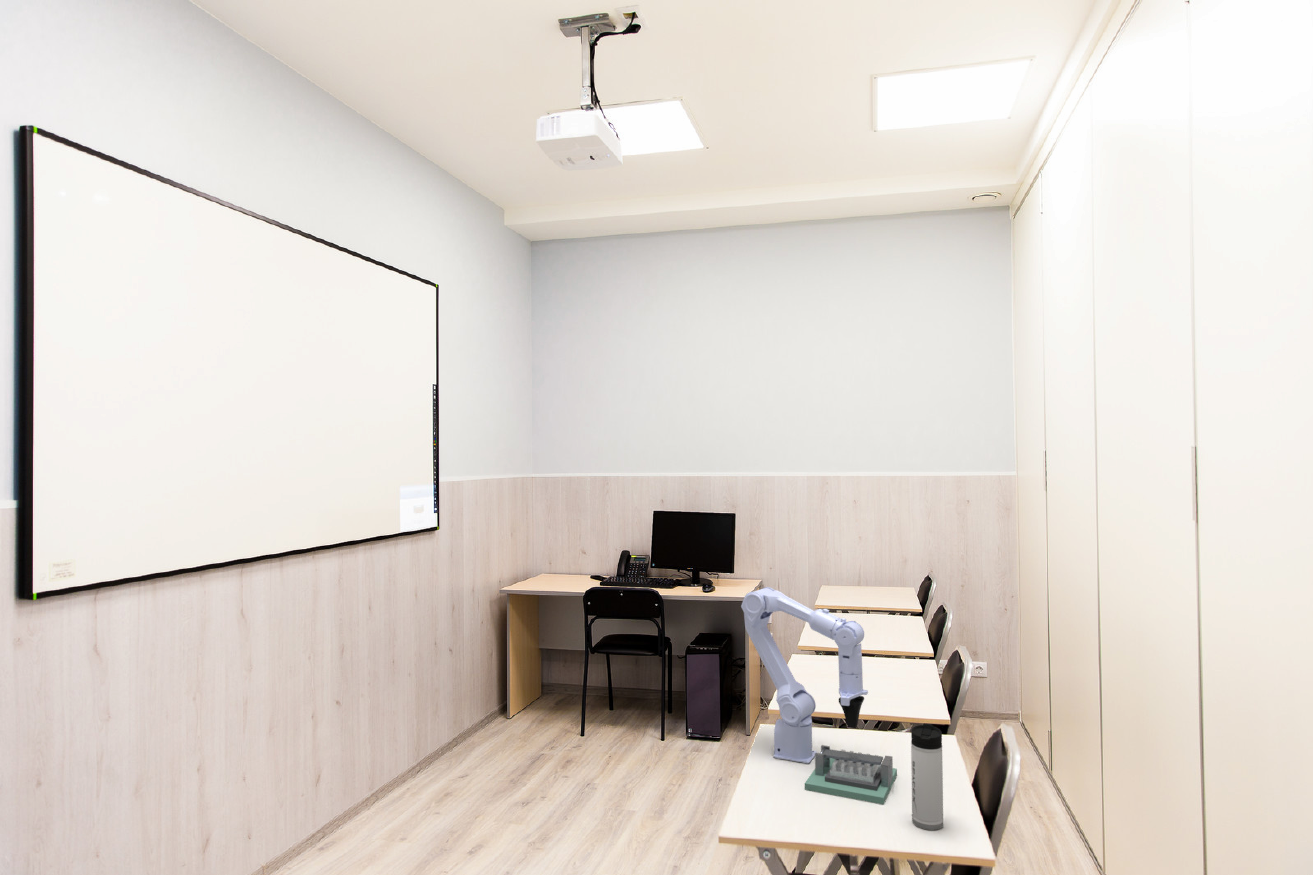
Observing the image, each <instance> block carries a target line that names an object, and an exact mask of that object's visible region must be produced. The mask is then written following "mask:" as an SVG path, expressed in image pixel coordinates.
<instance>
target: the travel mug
mask: <svg viewBox="0 0 1313 875" xmlns="http://www.w3.org/2000/svg"><path fill="white" fill-rule="evenodd" d="M910 730H911V731H910V734H911V736H910V738H911V742H910V746H911V747H910V748H911V749H910V750H911V751H910V752H911V754H910V756H911V757H910V758H911V762H910V763H911V766H910V767H911V820H912V821H911V822H912V824H914V826H916V827H917V828H920V829H923V830H925V831H926V830H927V831H937V830H940V829H942V828H943V827H944V784H943V783H944V782H943V780H944V777H943V775H944V774H943V773H944V772H943V767H944V766H943V765H944V764H943V738H942V737H943V733H942V731H941V729H940V728H938V727H936V726H934V725H933V724H932V723H925V722H924V723H923V724H917V725H914V726H913V727H912V728H911V729H910Z"/></svg>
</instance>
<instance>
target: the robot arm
mask: <svg viewBox="0 0 1313 875" xmlns="http://www.w3.org/2000/svg"><path fill="white" fill-rule="evenodd" d="M740 607H741V609H742V611H743V618H744V627H745V632H747V636H748V637H749V638H750V640H751V643H752V645H753V646H754V648H755V650H756V652H757V655H758V656H759V658H760V659H761V661H762V664H763V665H764V668H765V669H766V672H767V673H768V675H769V677H770V679H771V681H772V682H773V685H774V687H775V688H776V690H777V691H776V692H777V693H776V698H775V699H776V700H775V701H776V702H777V705H778V710H779V715H780V717H781V718H778V719H776V721H775V725H774V729H773V738H774V739H773V746H774V750H773V752H774V753H773V756H772V757H773V758H775V759H780V760H785V761H791V762H797V763H804V764H810V763H811V762H812V760H813V759H815V753H818V751H817V750H813V719H812V715H813V714H814V712H815V710H816V706H817V705H816V700H815V698H814V697H813V695H812V694H810V693H809V692H808V691H807V690H806V688H805V686H804V685H803V684H802V683H800V682H798V681H797V680H796V679H795V677H794V675H793V673H792V671H791V669H790V667H789V665H788V663H787V661H786V660H785V658H784V656H783V654H782V653H781V651H780V649H779V647H778V645H777V643H776V641H775V639H774V637H773V635H772V634H771V632H770V630H769V628H768V624H769V621H770V619H771V615H773V613H774V612H775V613H776V612H783V613H785V614H787V615H789V616H792V617H794V618H796V619H799V620H802V621H804V622H806V623H808V624H809V627H810V629H811V630H812V631H814V632H817V633H818V634H819V635H820V634H821V635H822V636H824V637H826V638H827V639H828V638H829V639H831V640H832V641H834V642H835V645H836V646H837V647H838V648H837V651H838V652H837V653H838V656H837V658H838V659H837V660H838V684H839V686H838V694H839V697H838V704H839V705H840V707H841V708H842V711H843V715H844V718H845V722H846V727H847V728H852V729H856V728H857V727H858V724H859V718H860V712H861V708H862V705H863V704H864V700H865V697H864V696H866V695H869V694H868V693H869V691H868V689H864V688H863V684H864V683H863V681H864V680H863V656H862V642H863V640H864V637H865V631H864V628H863V626H862V625H861V624H859V623H858V622H856V620H848V621H847V619H846V618H845V617H842V618H841V617H839V616H837V615H835V614H833V613H830V609H827V608H824V609H821V608H818V609H815V610H813V609H812V608H810V607H808V606H806V605H804V604H802V603H800V602H799V601H797V600H795V599H793V598H791V597H789V596H787V595H785V594H784V593H783V592H782V591H780V590H776V589H774V588H772V587H770V586H764V587H762V588H760V589H758V590H754V591H748V592H747V593H746V594H745V595H744V598H743V600H742V602H741V605H740Z"/></svg>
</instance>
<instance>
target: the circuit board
mask: <svg viewBox="0 0 1313 875" xmlns="http://www.w3.org/2000/svg"><path fill="white" fill-rule="evenodd" d="M834 761H835V759H833V758H830V767H829V768H827V767H824V776H819V775H815V768H814V769H813V771H812V772H811V774H809V776H808V778H807V780H805V782H804V790H805V791H809V792H813V793H814V792H815V793H821V794H825V795H831V796H836V797H840V798H841V797H842V798H846V799H853V800H856V801H857V800H858V801H862V802H863V801H864V802H868V803H873V804H878V805H884V804H885V802H886V801H887V798H888V796H889V794H890V792H891V789H892V788H893V784H894V782H895V780H896V778H897V776H898V769H897V768H894V767H893V778H892V781H891V783H890V785H889V787H882V786H881V770H880V772H879V774H878V776H877V778H876V780H875V782H874V784H870V783H864V782H859V781H853V780H848V779H842V778H836V777H831V776H830V769H831V768H832V764H833V762H834Z"/></svg>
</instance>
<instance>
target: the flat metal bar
mask: <svg viewBox="0 0 1313 875" xmlns="http://www.w3.org/2000/svg"><path fill="white" fill-rule="evenodd" d="M819 753H821V754H824V757H826V758H833V759H840V760H847V761H854V762H861V763H868V764H875V765H880V764H881V763H882V761H883V759H884V756H881V755H879V756H875V755H873V754H870V755H867V754H868V753H862V754H860V753H858V752H854V753H853V752H850V751H846V750H845V751H841V750H839V749H838V750H837V749H831V748H830V749H826V748H823V749H822V750H821V749H820V752H819Z"/></svg>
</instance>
